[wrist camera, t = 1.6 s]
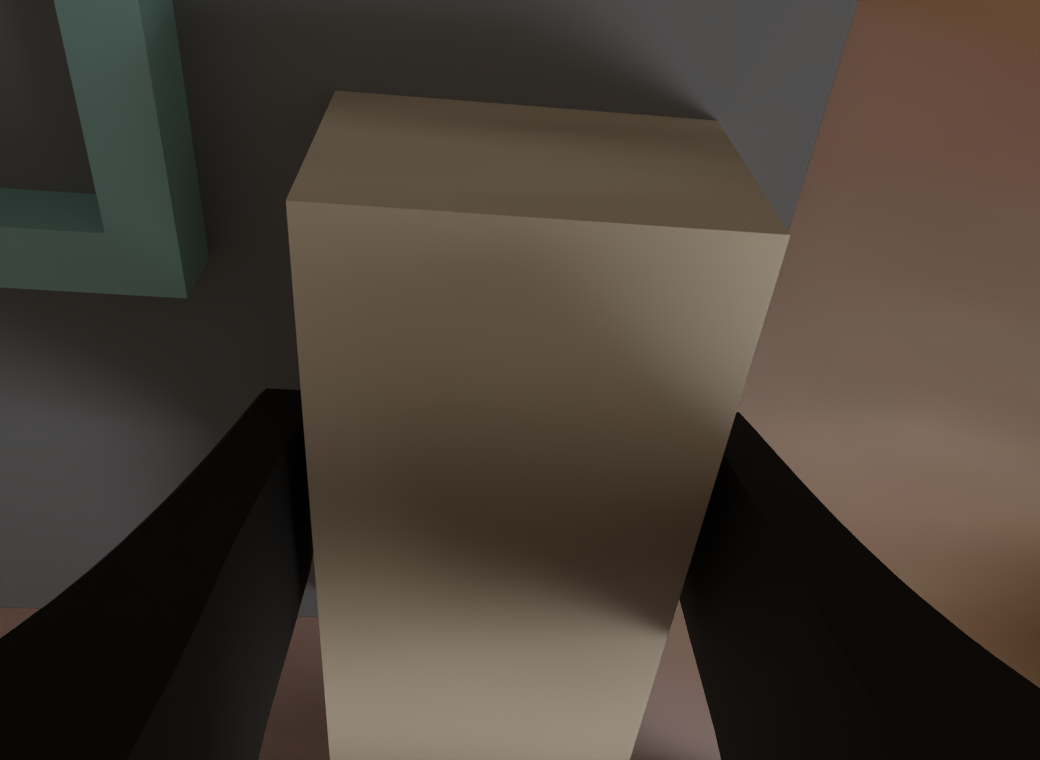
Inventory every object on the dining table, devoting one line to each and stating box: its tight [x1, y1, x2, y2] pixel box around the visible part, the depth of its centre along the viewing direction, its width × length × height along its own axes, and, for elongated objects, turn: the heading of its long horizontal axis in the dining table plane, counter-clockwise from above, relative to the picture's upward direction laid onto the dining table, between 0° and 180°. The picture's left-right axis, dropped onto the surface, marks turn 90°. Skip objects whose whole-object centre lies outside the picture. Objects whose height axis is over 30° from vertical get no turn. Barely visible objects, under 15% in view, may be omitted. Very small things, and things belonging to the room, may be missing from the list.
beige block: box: [286, 91, 790, 760], centre depth 11 cm, size 9×4×3 cm, turn 175°
